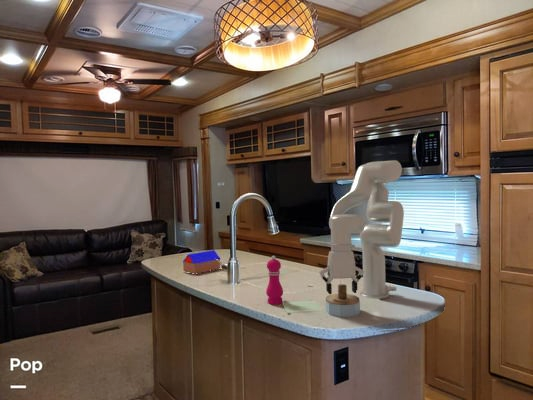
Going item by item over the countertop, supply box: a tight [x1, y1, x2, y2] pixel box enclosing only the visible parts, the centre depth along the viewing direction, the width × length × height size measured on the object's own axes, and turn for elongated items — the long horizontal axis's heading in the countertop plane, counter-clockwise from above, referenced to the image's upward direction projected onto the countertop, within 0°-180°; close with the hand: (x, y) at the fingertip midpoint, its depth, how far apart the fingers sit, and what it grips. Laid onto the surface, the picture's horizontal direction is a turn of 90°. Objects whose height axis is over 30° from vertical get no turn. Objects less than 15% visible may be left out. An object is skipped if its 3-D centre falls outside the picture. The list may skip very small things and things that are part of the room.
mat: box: [281, 300, 324, 315], centre depth 158 cm, size 14×14×1 cm
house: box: [182, 249, 221, 275], centre depth 238 cm, size 12×20×12 cm, turn 137°
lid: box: [325, 283, 360, 305], centre depth 149 cm, size 13×13×6 cm
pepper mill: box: [265, 255, 284, 305], centre depth 166 cm, size 7×7×20 cm
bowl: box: [325, 300, 361, 318], centre depth 149 cm, size 12×12×5 cm
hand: (341, 292), depth 149 cm, fingers open, 9 cm apart
